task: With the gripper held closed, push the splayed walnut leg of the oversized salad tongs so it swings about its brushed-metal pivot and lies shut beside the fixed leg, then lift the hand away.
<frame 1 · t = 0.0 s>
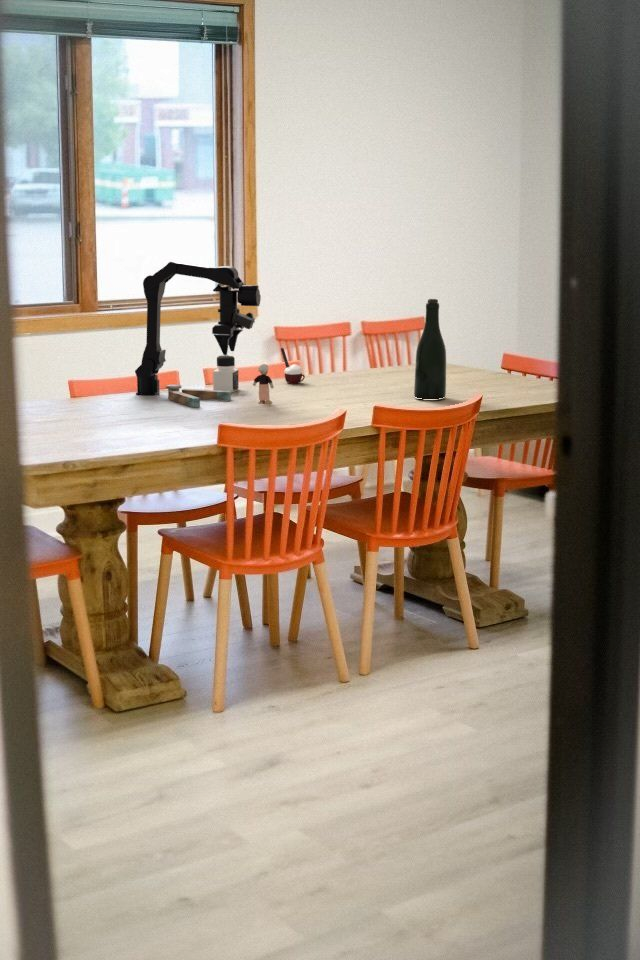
hand: (228, 353, 403), 15 cm above the table, fingers open, 9 cm apart
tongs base: (173, 397, 404), on the table
tong leg: (184, 398, 394), point 1 cm above the table, hinge at 40.0°
medicine bottle: (226, 391, 419), on the table
grandmother figurine: (263, 403, 397), on the table
dark wine bottle: (429, 399, 407), on the table
cocoa: (292, 383, 436), on the table
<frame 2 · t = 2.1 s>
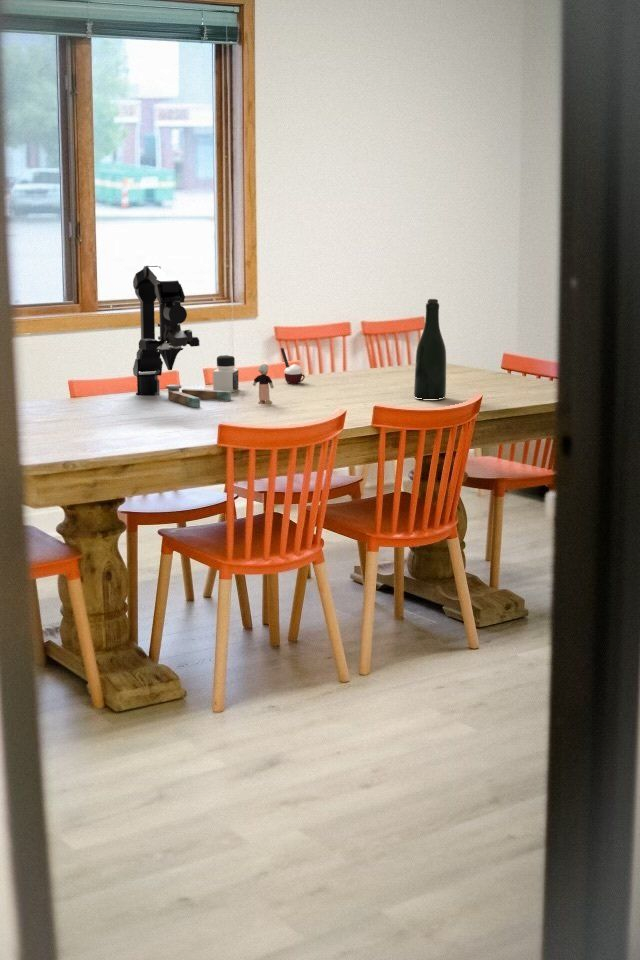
hand: (169, 370, 385), 12 cm above the table, fingers closed
nothing on the table moved.
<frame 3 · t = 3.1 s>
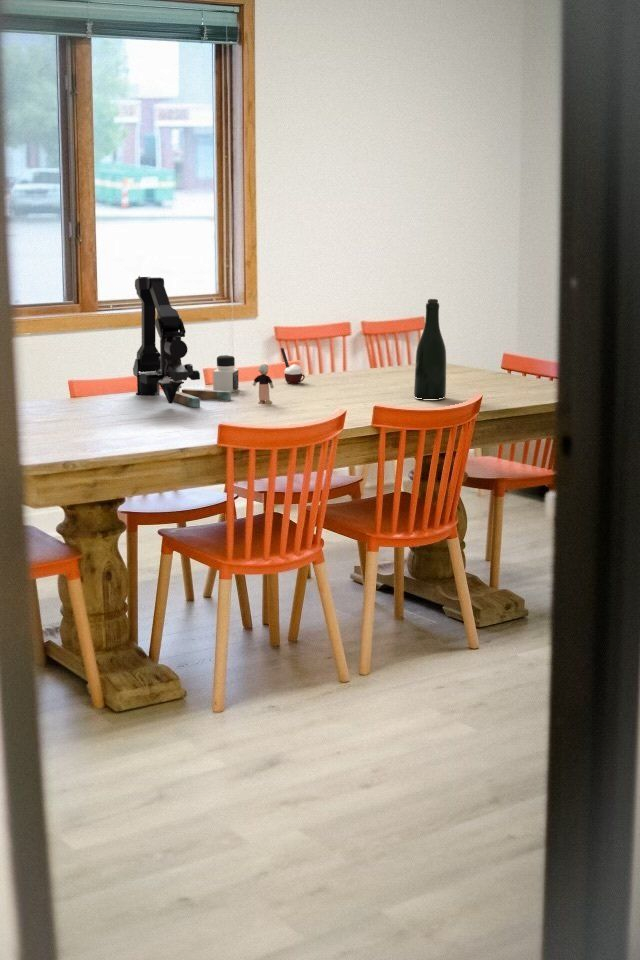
hand: (170, 403, 387), 1 cm above the table, fingers closed
nothing on the table moved.
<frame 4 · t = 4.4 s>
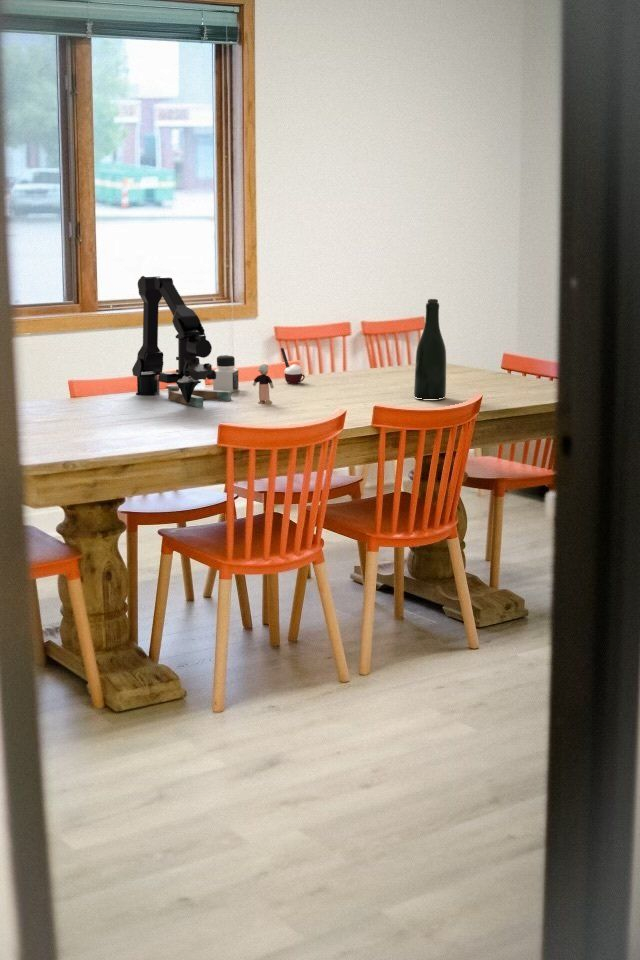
hand: (187, 402, 390), 1 cm above the table, fingers closed
tong leg: (186, 398, 395), point 2 cm above the table, hinge at 36.4°, touching gripper
everything else where it was.
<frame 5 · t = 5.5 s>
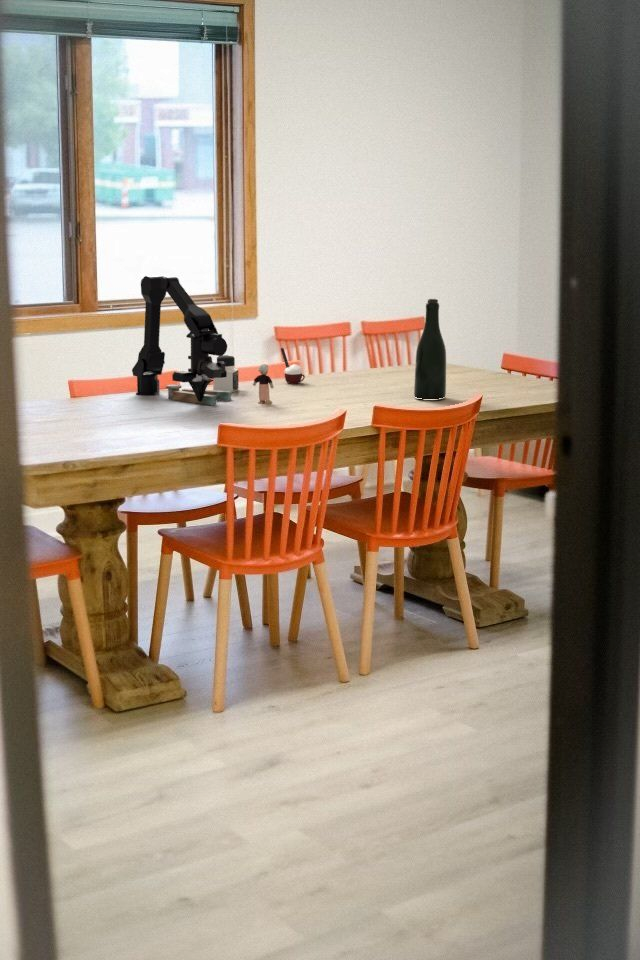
hand: (199, 401, 392), 1 cm above the table, fingers closed
tong leg: (194, 397, 396), point 1 cm above the table, hinge at 19.9°, touching gripper
everything else where it was.
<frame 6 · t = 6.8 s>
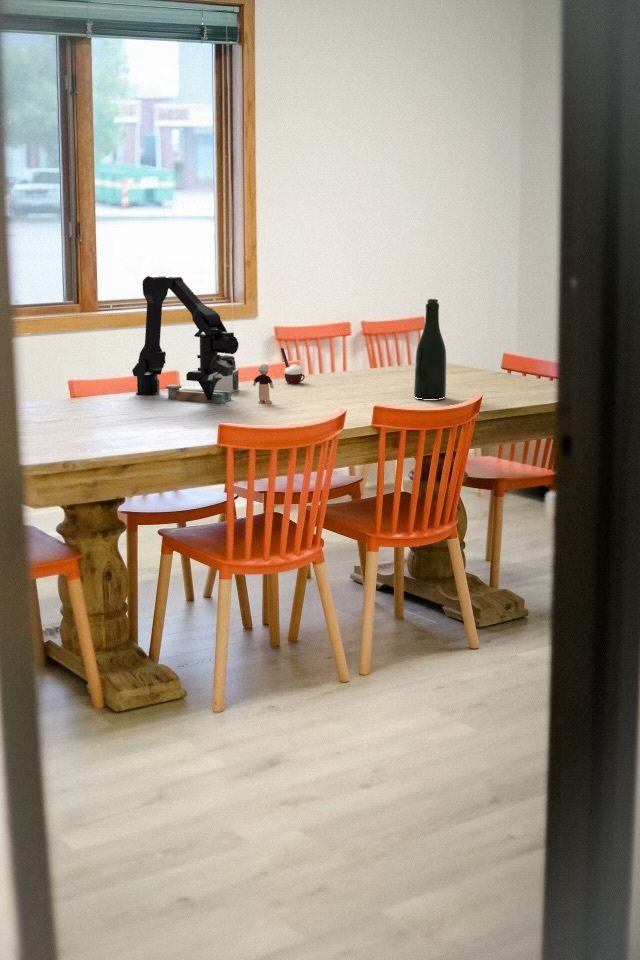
hand: (209, 399, 395), 1 cm above the table, fingers closed
tong leg: (200, 396, 399), point 1 cm above the table, hinge at 5.5°, touching gripper
everything else where it was.
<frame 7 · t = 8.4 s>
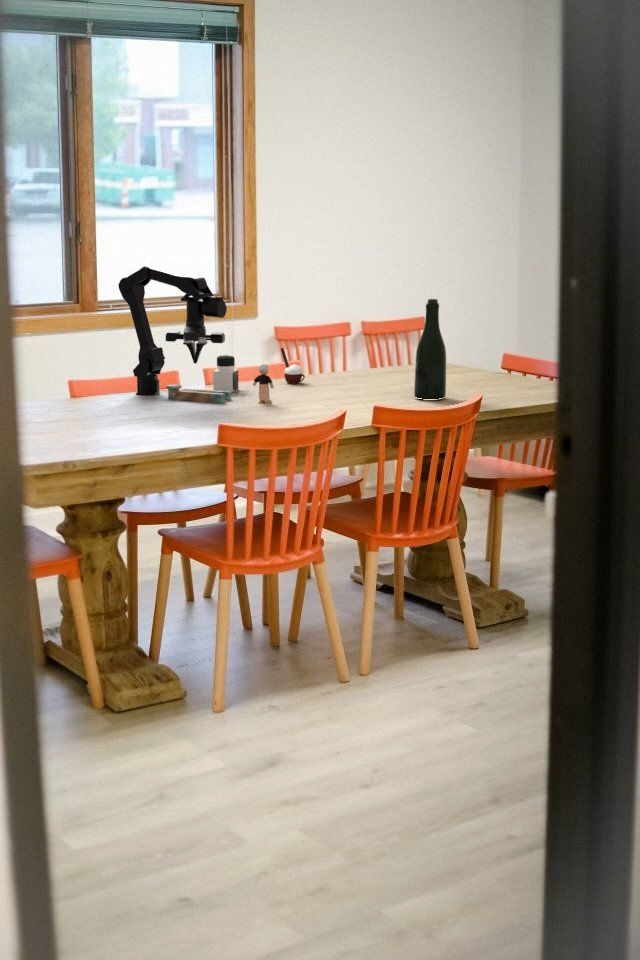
hand: (195, 363, 401), 12 cm above the table, fingers closed
tong leg: (200, 396, 399), point 1 cm above the table, hinge at 5.4°
everything else where it was.
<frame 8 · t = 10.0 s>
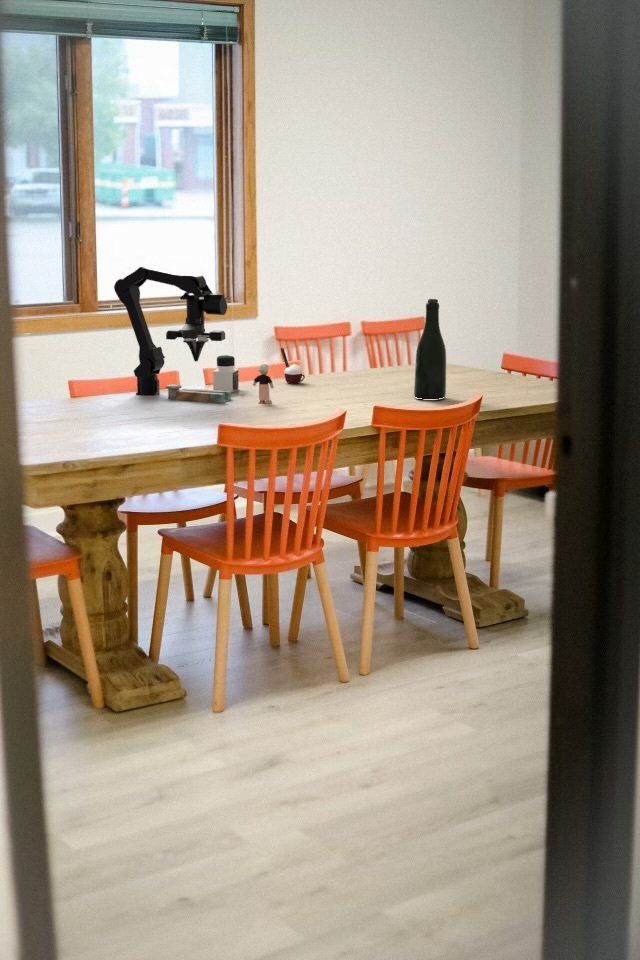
hand: (196, 361, 403), 12 cm above the table, fingers closed
nothing on the table moved.
at the end: tong leg at +5° (first picture: +40°) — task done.
